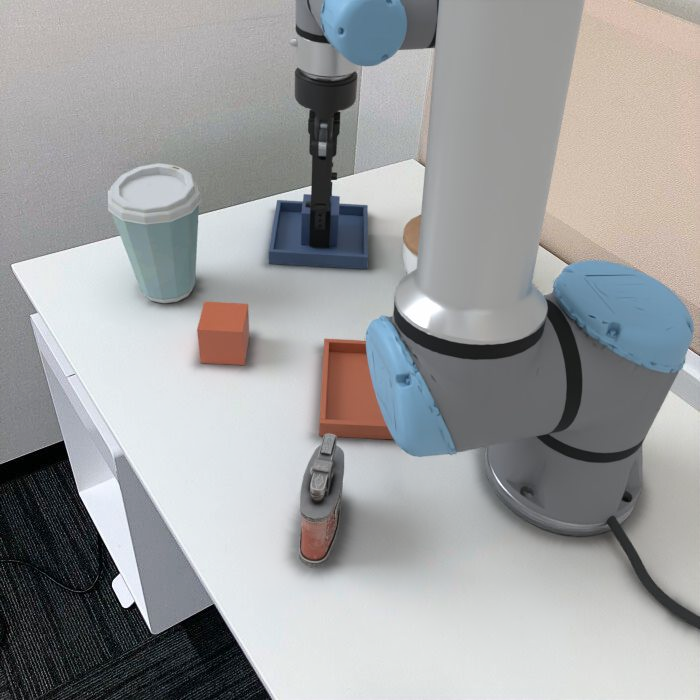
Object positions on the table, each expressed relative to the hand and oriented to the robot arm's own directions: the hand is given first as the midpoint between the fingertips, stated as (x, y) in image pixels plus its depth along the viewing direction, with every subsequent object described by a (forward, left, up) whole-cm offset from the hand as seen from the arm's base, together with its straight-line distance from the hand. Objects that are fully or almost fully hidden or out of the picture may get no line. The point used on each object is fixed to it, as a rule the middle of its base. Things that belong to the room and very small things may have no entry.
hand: (320, 233), depth 103 cm
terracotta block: (-24, +10, -1) cm, 26 cm away
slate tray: (0, 0, -1) cm, 1 cm away
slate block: (0, 0, 0) cm, 0 cm away
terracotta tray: (-30, -8, -1) cm, 31 cm away
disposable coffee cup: (-13, +19, -1) cm, 23 cm away
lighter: (-48, -2, -1) cm, 48 cm away
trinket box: (-9, -16, -1) cm, 18 cm away
